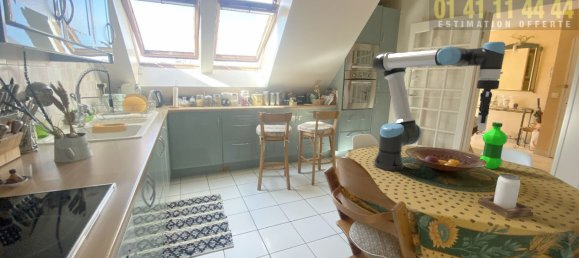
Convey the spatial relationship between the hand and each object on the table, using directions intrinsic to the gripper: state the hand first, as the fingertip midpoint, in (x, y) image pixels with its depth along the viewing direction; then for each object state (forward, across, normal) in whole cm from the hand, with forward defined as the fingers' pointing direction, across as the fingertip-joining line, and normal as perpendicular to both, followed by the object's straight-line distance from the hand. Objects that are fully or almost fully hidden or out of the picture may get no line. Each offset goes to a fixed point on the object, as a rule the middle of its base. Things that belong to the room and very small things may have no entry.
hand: (480, 128), depth 114 cm
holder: (+27, -21, -10) cm, 35 cm away
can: (+26, -21, -10) cm, 35 cm away
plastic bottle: (+27, +33, -9) cm, 44 cm away
